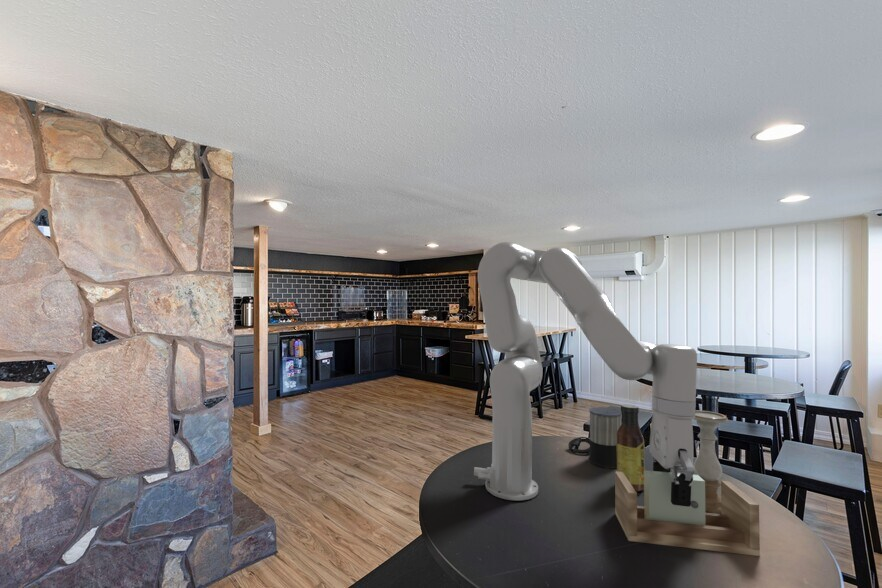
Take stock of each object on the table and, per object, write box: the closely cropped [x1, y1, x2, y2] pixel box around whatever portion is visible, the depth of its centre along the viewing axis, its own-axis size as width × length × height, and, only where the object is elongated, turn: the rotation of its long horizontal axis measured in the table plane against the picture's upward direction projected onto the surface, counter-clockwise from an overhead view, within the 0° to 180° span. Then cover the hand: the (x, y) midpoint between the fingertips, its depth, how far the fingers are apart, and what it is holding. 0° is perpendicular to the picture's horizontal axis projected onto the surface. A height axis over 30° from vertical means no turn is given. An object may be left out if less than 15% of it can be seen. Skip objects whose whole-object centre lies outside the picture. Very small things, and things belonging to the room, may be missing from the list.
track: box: [614, 470, 761, 557], centre depth 77 cm, size 22×10×9 cm, turn 79°
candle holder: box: [693, 409, 729, 514], centre depth 89 cm, size 9×9×20 cm
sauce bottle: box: [616, 403, 646, 493], centre depth 98 cm, size 6×6×20 cm
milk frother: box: [568, 406, 622, 469], centre depth 117 cm, size 14×16×15 cm
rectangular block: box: [643, 469, 706, 526], centre depth 77 cm, size 10×4×10 cm, turn 80°
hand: (670, 492), depth 78 cm, fingers open, 9 cm apart
